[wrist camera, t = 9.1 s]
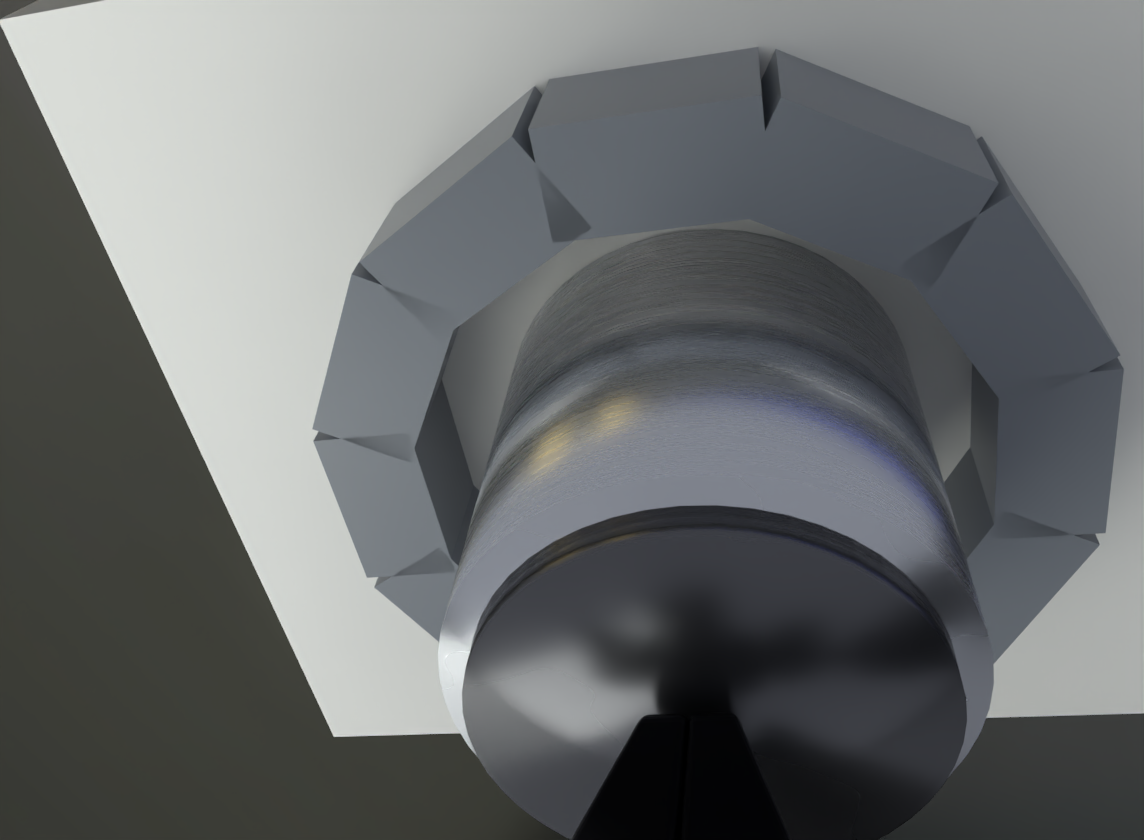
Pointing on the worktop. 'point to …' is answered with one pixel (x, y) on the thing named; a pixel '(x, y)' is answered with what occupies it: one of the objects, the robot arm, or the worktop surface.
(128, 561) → the worktop surface
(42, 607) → the worktop surface
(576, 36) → the barrel plate
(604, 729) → the metal cylinder
